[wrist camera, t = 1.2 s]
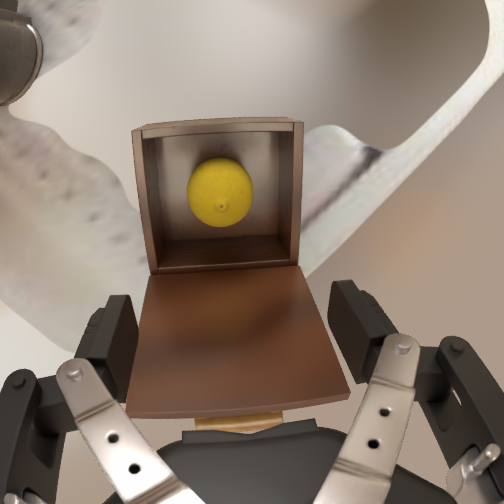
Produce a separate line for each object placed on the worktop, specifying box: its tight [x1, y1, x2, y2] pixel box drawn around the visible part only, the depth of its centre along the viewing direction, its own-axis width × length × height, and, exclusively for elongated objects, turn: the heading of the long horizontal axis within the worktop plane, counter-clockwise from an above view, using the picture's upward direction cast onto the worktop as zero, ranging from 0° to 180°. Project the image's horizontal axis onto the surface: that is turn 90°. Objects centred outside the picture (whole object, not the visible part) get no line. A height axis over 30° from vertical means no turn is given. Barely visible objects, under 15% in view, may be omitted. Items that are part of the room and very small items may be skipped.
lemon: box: [186, 158, 254, 227], centre depth 27 cm, size 6×6×8 cm
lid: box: [125, 266, 351, 432], centre depth 24 cm, size 13×13×6 cm
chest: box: [132, 117, 304, 276], centre depth 28 cm, size 13×13×6 cm
